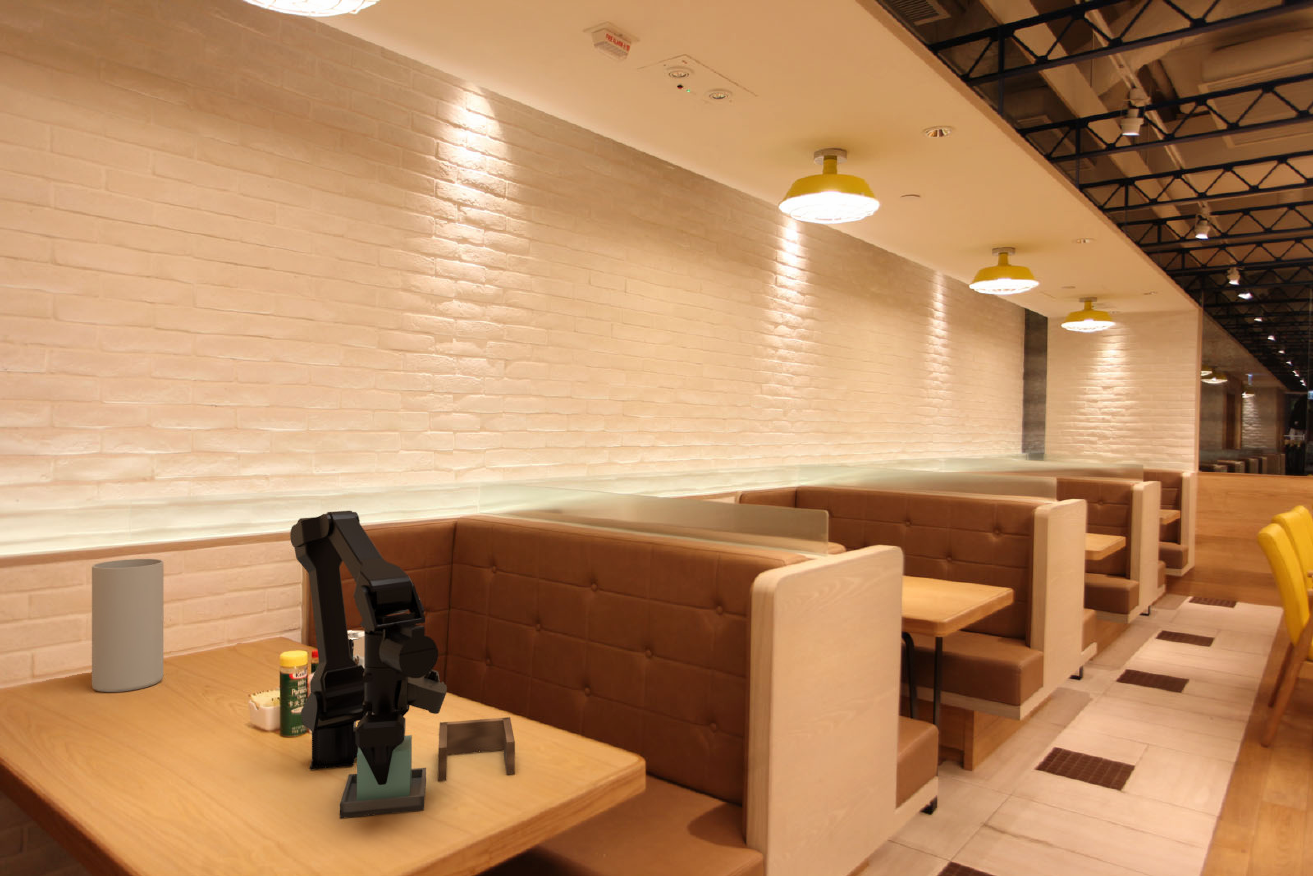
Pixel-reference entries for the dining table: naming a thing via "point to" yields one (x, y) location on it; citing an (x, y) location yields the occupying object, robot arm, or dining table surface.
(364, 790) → the teal block
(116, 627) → the cylinder vase
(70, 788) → the dining table surface
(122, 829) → the dining table surface
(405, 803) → the gray tray
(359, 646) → the beer glass
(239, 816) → the dining table surface
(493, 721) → the frame
